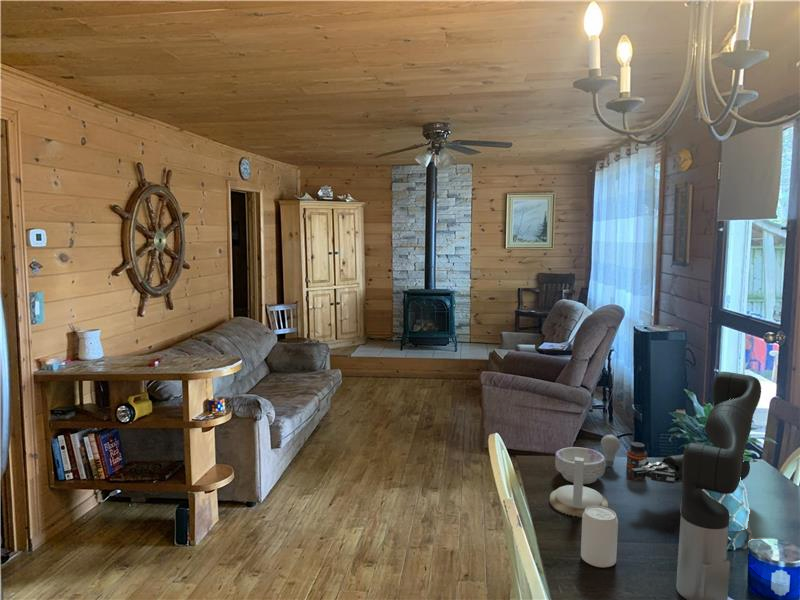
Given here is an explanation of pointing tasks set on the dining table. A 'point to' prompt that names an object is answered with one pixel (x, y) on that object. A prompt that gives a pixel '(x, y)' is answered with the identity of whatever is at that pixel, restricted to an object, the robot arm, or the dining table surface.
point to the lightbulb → (610, 448)
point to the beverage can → (599, 536)
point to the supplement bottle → (635, 459)
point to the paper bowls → (592, 463)
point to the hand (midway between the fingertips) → (632, 473)
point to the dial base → (570, 510)
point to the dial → (578, 490)
